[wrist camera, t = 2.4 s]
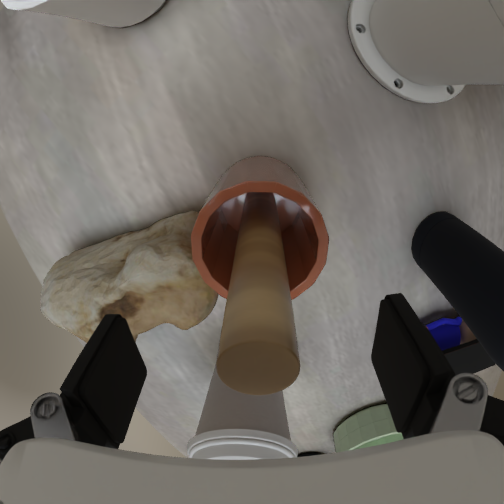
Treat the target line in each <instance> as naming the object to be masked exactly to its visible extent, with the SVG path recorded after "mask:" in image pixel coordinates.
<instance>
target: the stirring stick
mask: <svg viewBox="0 0 504 504" xmlns="http://www.w3.org/2000/svg"><path fill="white" fill-rule="evenodd" d="M216 370H217V373H218V376H219V378H220V379H221V380H222V382H223V383H224V384H225V385H227V386H228V387H229V388H231V389H233V390H235V391H237V392H240V393H244V394H248V395H268V394H273V393H277V392H279V391H282V390H284V389H286V388H287V387H289V386H290V385H291V384H292V383H293V382H294V381H295V380H296V378H297V376H298V374H299V371H300V360H299V353H298V345H297V337H296V330H295V323H294V315H293V308H292V301H291V294H290V287H289V281H288V274H287V267H286V261H285V254H284V248H283V241H282V235H281V229H280V223H279V217H278V211H277V205H276V199H275V196H274V195H273V193H264V192H249V193H248V194H247V195H246V197H245V201H244V206H243V212H242V217H241V222H240V228H239V233H238V239H237V245H236V250H235V256H234V261H233V267H232V273H231V278H230V284H229V290H228V296H227V302H226V307H225V313H224V319H223V325H222V331H221V337H220V343H219V349H218V355H217V361H216Z"/></svg>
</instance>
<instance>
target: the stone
mask: <svg viewBox="0 0 504 504" xmlns="http://www.w3.org/2000/svg"><path fill="white" fill-rule="evenodd" d="M198 214H199V212H195V211H189V212H186V213H180V214H177V215H174V216H172V217H170V218H164V219H162V220H160V221H157V222H155V223H154V224H153V225H152V226H150V227H148V228H146V229H143V230H140V231H131V232H128V233H126V234H122V235H118V236H115V237H113V238H111V239H109V240H106V241H103V242H101V243H99V244H95V245H91V246H89V247H86V248H83V249H80V250H77V251H74V252H72V253H71V254H70V255H68V256H65V257H63V258H61V259H60V260H58V261H57V262H56V263H55V264H54V265H53V267H52V268H51V269H50V271H49V272H48V273H47V275H46V277H45V279H44V282H43V287H42V291H41V299H40V301H41V307H40V308H41V309H40V310H41V312H42V313H43V315H44V316H45V317H46V318H47V319H48V320H50V321H51V322H52V323H53V324H55V325H56V326H57V327H59V328H65V329H66V330H67V331H69V332H70V333H72V334H74V335H75V336H77V337H79V338H80V339H82V340H84V341H85V342H86V343H87V342H88V341H89V339H90V337H91V336H92V334H93V333H94V331H95V330H96V328H97V326H98V325H99V323H100V322H101V320H102V319H103V317H104V316H105V315H106V314H120V315H121V316H122V317H123V318H125V319H126V320H127V323H128V325H129V328H130V330H131V333H132V335H133V338H134V340H135V341H136V339H137V336H138V334H141V333H143V332H146V331H148V330H150V329H152V328H154V327H156V326H158V325H160V324H163V323H171V324H174V325H175V326H176V327H178V328H180V329H182V330H188V329H189V328H191V327H193V326H195V325H197V324H199V323H200V322H201V321H203V320H204V319H205V318H206V317H207V316H208V315H209V314H210V313H211V312H212V310H213V308H214V306H215V304H216V301H217V298H218V293H217V292H216V291H214V290H213V289H212V288H211V287H210V286H209V285H207V284H206V283H205V282H204V280H203V279H202V277H201V275H200V273H199V271H198V269H197V267H196V265H195V263H194V262H193V259H192V247H191V233H192V230H193V228H194V225H195V222H196V220H197V217H198Z"/></svg>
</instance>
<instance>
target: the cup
mask: <svg viewBox="0 0 504 504" xmlns="http://www.w3.org/2000/svg"><path fill="white" fill-rule="evenodd" d="M165 1H166V0H1V2H2V3H3V4H4V5H5V6H6V8H7V9H14V10H21V11H30V12H38V13H45V14H52V15H58V16H63V17H69V18H74V19H79V20H83V21H88V22H92V23H96V24H100V25H104V26H108V27H116V28H124V27H128V26H131V25H134V24H136V23H139V22H142V21H143V20H145V19H146V18H148V17H149V16H151V15H152V14H154V13H156V12H157V11H159V10H160V9H161V8H162V7H163V5H164V3H165Z"/></svg>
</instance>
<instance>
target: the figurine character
mask: <svg viewBox="0 0 504 504" xmlns="http://www.w3.org/2000/svg"><path fill="white" fill-rule="evenodd" d="M443 324H444V325H443ZM426 327H427V328H428V330H429V331H430V333H431V334H432V336H433V338H434V339H435V341H436V342H437V344H438V346H439V347H440V349H441V350H442V352H443V354H444V355H445V357H446V359H447V360H448V362H449V364H450V365H451V367H452V369H453V370H454V372H455V374H456V375H458V374H460V373H472V374H473V373H476V372H478V371H481V370H483V369H486V368H488V367H491V366H493V365H495V362H494V361H493V360H492V359H491V358H490V357H489V355H488V354H487V353H486V351H485V350H484V348H483V347H482V345H481V344H480V342H479V341H478V340H477V338H476V337H475V336H474V334H473V333H472V331H471V330H470V329H469V327H468V326H467V325H466V323H465V322H464V321H463V319H462V318H461V317H457V318H455V319H449V318H441V319H439V320H437V321H435V322H432V323H430V324H428V325H426Z"/></svg>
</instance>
